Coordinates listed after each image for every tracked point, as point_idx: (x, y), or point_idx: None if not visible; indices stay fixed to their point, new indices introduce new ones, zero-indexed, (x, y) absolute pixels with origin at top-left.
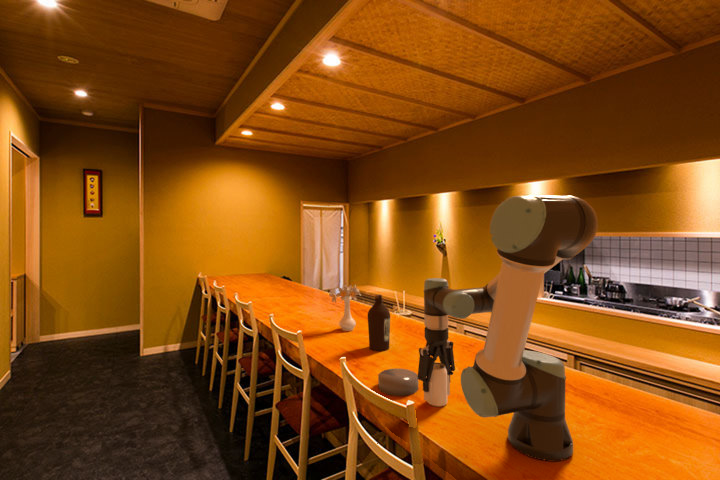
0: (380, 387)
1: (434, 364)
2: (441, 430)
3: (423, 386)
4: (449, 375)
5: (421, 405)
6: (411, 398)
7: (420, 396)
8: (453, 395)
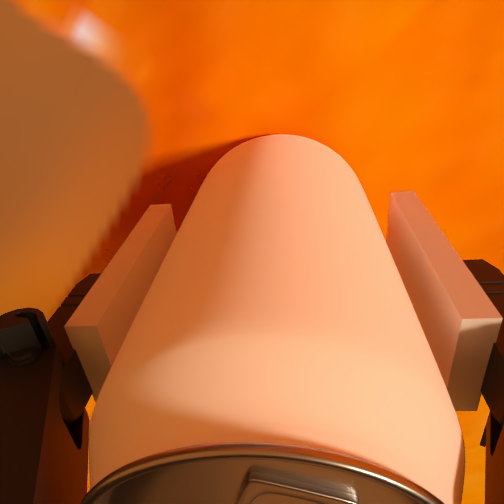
0: None
1: (304, 501)
2: (91, 413)
3: (61, 315)
4: (473, 408)
5: (139, 180)
6: (127, 17)
7: (234, 34)
8: (496, 201)
